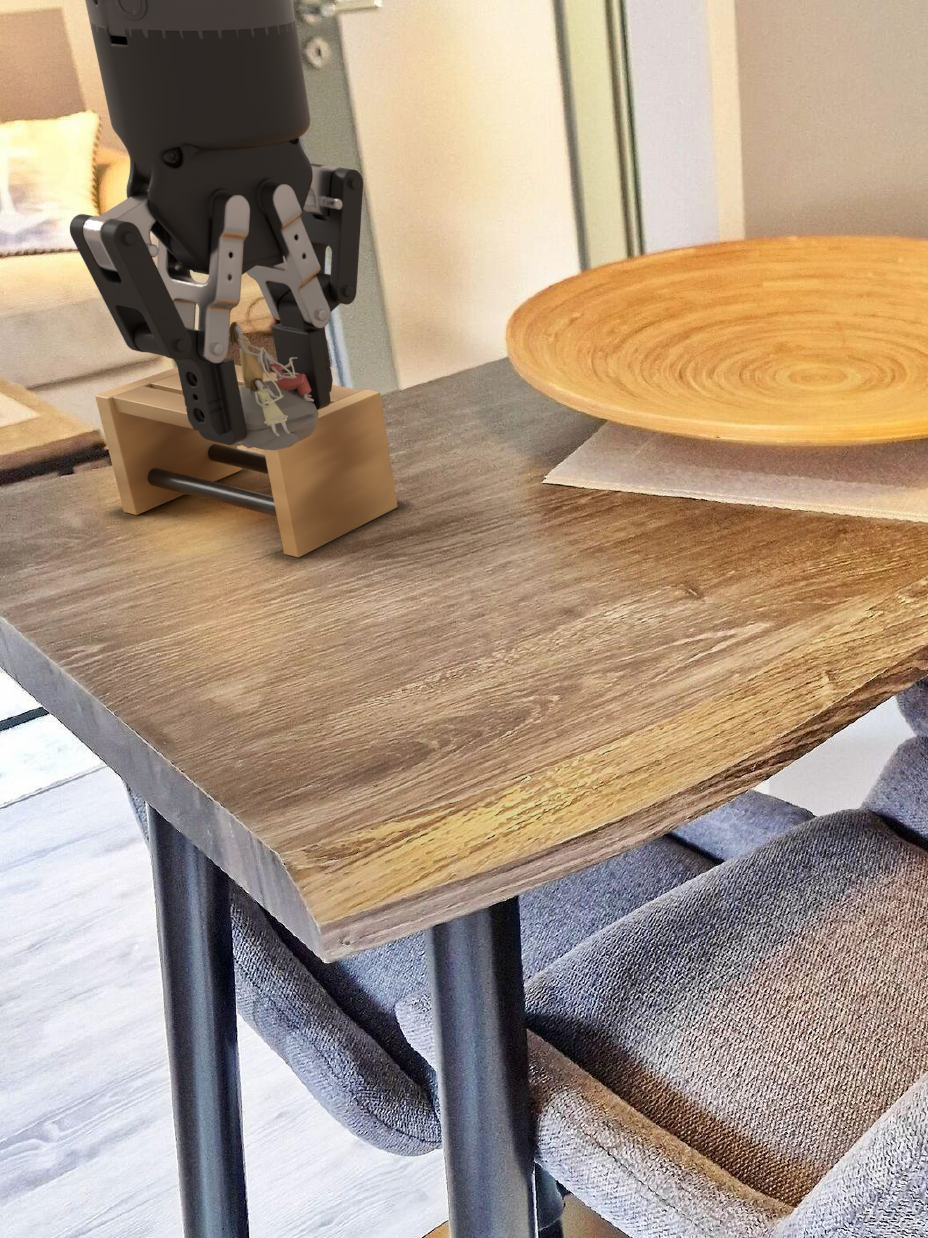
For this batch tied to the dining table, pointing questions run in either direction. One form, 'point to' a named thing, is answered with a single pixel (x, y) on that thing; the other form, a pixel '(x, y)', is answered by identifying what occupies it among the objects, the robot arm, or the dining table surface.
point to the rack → (253, 461)
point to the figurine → (272, 399)
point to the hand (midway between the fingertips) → (266, 421)
